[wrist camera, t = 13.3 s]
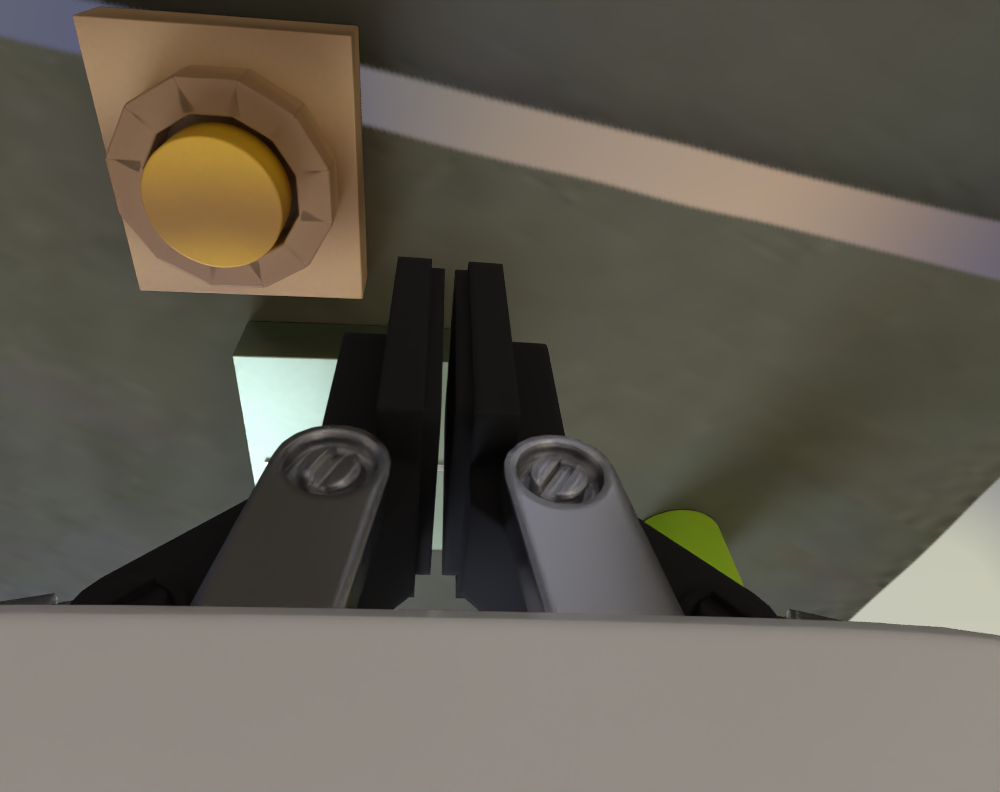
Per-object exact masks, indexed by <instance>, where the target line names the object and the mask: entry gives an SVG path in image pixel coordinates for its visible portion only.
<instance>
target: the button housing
mask: <svg viewBox="0 0 1000 792" xmlns="http://www.w3.org/2000/svg"><path fill="white" fill-rule="evenodd" d="M73 20H74V24H75V28H76V32H77V36H78V40H79V44H80V48H81V52H82V56H83V60H84V65H85V69H86V73H87V77H88V81H89V85H90V89H91V93H92V97H93V101H94V105H95V109H96V113H97V117H98V121H99V125H100V129H101V134H102V138H103V142H104V146H105V150H106V163H107V167H108V171H109V175H110V179H111V183H112V187H113V191H114V195H115V199H116V203H117V207H118V211H119V213H120V215H121V216H122V219H123V223H124V227H125V231H126V235H127V239H128V243H129V247H130V251H131V255H132V259H133V263H134V267H135V271H136V276H137V280H138V284H139V288H140V290H149V291H174V292H200V293H225V294H251V295H276V296H302V297H327V298H353V299H362V298H363V294H364V289H365V285H366V280H367V251H366V224H365V197H364V170H363V142H362V116H361V91H360V90H361V88H360V61H359V34H358V26H353V25H339V24H326V23H313V22H299V21H286V20H273V19H260V18H246V17H233V16H220V15H206V14H193V13H180V12H166V11H153V10H140V9H127V8H113V7H97V8H94V9H91V10H87V11H84V12H81V13H78V14H75V15H73ZM201 122H221V123H227V124H230V125H234V126H237V127H239V128H242V129H244V130H246V131H248V132H250V133H252V134H253V135H255V136H256V137H258V138H259V139H260V140H261V141H263V142H264V143H265V144H266V145H267V146H268V147H269V148H270V149H271V150H272V151H273V152H274V153H275V155H276V156H277V157H278V159H279V160H280V162H281V164H282V165H283V167H284V169H285V171H286V174H287V176H288V179H289V182H290V187H291V197H292V201H291V209H290V213H289V216H288V219H287V221H286V223H285V225H284V227H283V229H282V231H281V233H280V235H279V237H278V239H277V241H276V243H275V244H274V246H273V247H272V248H271V249H270V250H269V252H268V253H266V254H265V255H264V256H263V257H261V258H260V259H258V260H256V261H254V262H252V263H250V264H247V265H243V266H239V267H231V268H222V267H213V266H208V265H204V264H201V263H198V262H196V261H193V260H191V259H189V258H187V257H185V256H183V255H182V254H180V253H179V252H177V251H176V250H174V249H173V248H172V247H171V246H170V245H168V244H167V243H166V242H165V241H164V240H163V239H162V238H161V237H160V236H159V234H158V233H157V232H156V230H155V229H154V228H153V226H152V224H151V223H150V221H149V219H148V217H147V215H146V212H145V210H144V206H143V203H142V198H141V177H142V173H143V170H144V167H145V165H146V163H147V161H148V159H149V158H150V157H151V155H152V154H153V153H154V152H155V151H156V150H157V149H158V148H159V147H160V146H161V145H162V144H163V143H165V142H166V141H167V140H168V139H169V138H170V137H171V136H173V135H174V134H175V133H176V132H178V131H179V130H181V129H183V128H185V127H187V126H189V125H192V124H196V123H201Z"/></svg>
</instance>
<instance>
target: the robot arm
mask: <svg viewBox="0 0 1000 792" xmlns="http://www.w3.org/2000/svg"><path fill="white" fill-rule="evenodd" d="M444 281H445V269H440V268H432V259H426V258H412V257H398V262H397V269H396V275H395V282H394V289H393V296H392V303H391V310H390V317H389V324H388V331H387V334H374V333H358V332H345V333H344V336H343V339H342V343H341V348H340V352H339V356H338V360H337V364H336V369H335V373H334V377H333V381H332V385H331V390H330V394H329V398H328V402H327V406H326V411H325V415H324V419H323V423H322V426H318V427H312V428H309V429H306V430H303V431H301V432H298V433H295V434H294V435H292V436H291V437H289V438H288V439H286V440H285V441H283V442H282V443H281V444H280V446H279V447H278V448H277V449H276V451H275V452H274V453H273V455H272V456H271V458H270V460H269V462H268V464H267V465H266V467H265V469H264V471H263V473H262V475H261V476H260V478H259V480H258V482H257V484H256V486H255V487H254V489H253V491H252V493H251V495H250V497H249V498H248V499H247V500H245V501H243V502H242V503H240V504H238V505H236V506H234V507H232V508H230V509H229V510H227V511H225V512H223V513H221V514H219V515H217V516H216V517H214V518H212V519H210V520H208V521H206V522H204V523H203V524H201V525H199V526H197V527H195V528H193V529H191V530H189V531H188V532H186V533H184V534H182V535H180V536H178V537H176V538H175V539H173V540H171V541H169V542H167V543H165V544H163V545H162V546H160V547H158V548H156V549H154V550H152V551H150V552H149V553H147V554H145V555H143V556H141V557H139V558H137V559H136V560H134V561H132V562H130V563H128V564H126V565H124V566H123V567H121V568H119V569H117V570H115V571H113V572H111V573H110V574H108V575H106V576H104V577H102V578H101V579H99V580H98V581H96V582H95V583H93V584H92V585H90V586H89V587H87V588H86V589H84V590H83V591H81V593H80V594H79V595H78V596H77V597H76V598H75V599H74V600H73V601H66V602H60V603H59V602H58V600H57V598H56V595H55V593H53V594H47V595H40V596H34V597H27V598H21V599H14V600H8V601H1V602H0V792H1000V636H999V635H993V634H985V633H978V632H971V631H964V630H957V629H951V628H944V627H931V626H914V625H898V624H886V623H871V622H852V621H842V620H837V619H833V618H828V617H824V616H819V615H814V614H810V613H805V612H801V611H796V610H792V609H789V611H788V613H787V614H786V616H785V617H781V616H777V615H776V614H775V613H774V611H773V610H772V609H771V607H770V606H769V605H767V604H766V603H765V602H764V601H762V600H761V599H760V598H759V597H758V596H756V595H755V594H754V593H752V592H751V591H749V590H748V589H746V588H745V587H743V586H742V585H740V584H739V583H737V582H736V581H734V580H733V579H731V578H729V577H728V576H726V575H725V574H723V573H722V572H720V571H719V570H717V569H716V568H714V567H713V566H711V565H710V564H708V563H707V562H705V561H703V560H702V559H700V558H699V557H697V556H696V555H694V554H693V553H691V552H690V551H688V550H687V549H685V548H684V547H682V546H680V545H679V544H677V543H676V542H674V541H673V540H671V539H670V538H668V537H667V536H665V535H664V534H662V533H661V532H659V531H658V530H656V529H654V528H653V527H651V526H650V525H648V524H647V523H645V522H644V521H642V520H641V519H639V518H638V517H637V515H636V513H635V511H634V509H633V507H632V505H631V503H630V501H629V499H628V496H627V494H626V492H625V490H624V488H623V486H622V484H621V482H620V480H619V478H618V476H617V473H616V471H615V469H614V468H613V466H612V465H611V463H610V462H609V460H608V459H607V458H606V456H604V455H603V454H602V453H601V452H599V451H598V450H597V449H596V448H594V447H593V446H591V445H589V444H586V443H584V442H582V441H580V440H578V439H574V438H570V437H566V436H565V434H564V429H563V424H562V419H561V413H560V408H559V403H558V398H557V393H556V388H555V383H554V378H553V373H552V368H551V363H550V358H549V352H548V348H547V345H545V344H538V343H522V342H512V337H511V329H510V321H509V313H508V305H507V297H506V289H505V281H504V272H503V265H502V264H494V263H481V262H469V264H468V270H455V278H454V292H453V305H452V319H451V332H450V346H449V359H448V373H447V387H446V400H445V419H444V474H443V532H442V575H456V598H465V599H466V600H467V601H469V602H470V603H471V604H472V605H473V606H475V607H476V608H477V609H478V610H479V611H447V610H395V609H394V608H395V607H397V606H398V605H399V604H401V603H402V602H403V601H405V600H406V599H407V598H409V597H414V586H415V574H418V575H430V569H431V555H432V541H433V527H434V513H435V498H436V484H437V470H438V456H439V442H440V427H441V407H442V369H443V325H444Z"/></svg>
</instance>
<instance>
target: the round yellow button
mask: <svg viewBox="0 0 1000 792" xmlns="http://www.w3.org/2000/svg"><path fill="white" fill-rule="evenodd" d="M141 198H142V203H143V206H144V210H145V212H146V215H147V217H148V219H149V221H150V223H151V224H152V226H153V228H154V229H155V230H156V232H157V233H158V234H159V236H160V237H161V238H162V239H163V240H164V241H165V242H166V243H167V244H168V245H170V246H171V247H172V248H173V249H174V250H176V251H177V252H179V253H180V254H182V255H183V256H185V257H187V258H189V259H191V260H193V261H196V262H198V263H201V264H204V265H208V266H213V267H222V268H231V267H239V266H243V265H247V264H250V263H252V262H254V261H256V260H258V259H260V258H261V257H263V256H264V255H265V254H266V253H268V252H269V250H270V249H271V248H272V247H273V246H274V244H275V243H276V241H277V239H278V237H279V235H280V233H281V231H282V229H283V227H284V225H285V223H286V221H287V219H288V216H289V213H290V209H291V201H292V197H291V187H290V182H289V179H288V176H287V174H286V171H285V169H284V167H283V165H282V164H281V162H280V160H279V159H278V157H277V156H276V155H275V153H274V152H273V151H272V150H271V149H270V148H269V147H268V146H267V145H266V144H265V143H264V142H263V141H261V140H260V139H259V138H258V137H256V136H255V135H253V134H252V133H250V132H248V131H246V130H244V129H242V128H239V127H237V126H234V125H230V124H227V123H221V122H201V123H196V124H192V125H189V126H187V127H185V128H183V129H181V130H179V131H178V132H176V133H175V134H174V135H173V136H171V137H170V138H169V139H168V140H167V141H166V142H165V143H163V144H162V145H161V146H160V147H159V148H158V149H157V150H156V151H155V152H154V153H153V154H152V155H151V157H150V158H149V159H148V161H147V163H146V165H145V167H144V170H143V173H142V177H141Z"/></svg>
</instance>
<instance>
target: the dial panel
mask: <svg viewBox="0 0 1000 792" xmlns="http://www.w3.org/2000/svg"><path fill="white" fill-rule="evenodd" d="M387 331H388V326H368V325H340V324H312V323H284V322H256V321H249V322H248V324H247V326H246V328H245V330H244V332H243V334H242V336H241V339H240V341H239V343H238V345H237V347H236V349H235V351H234V354H233V362H234V368H235V374H236V380H237V385H238V391H239V397H240V403H241V409H242V414H243V420H244V426H245V432H246V438H247V444H248V449H249V455H250V461H251V467H252V473H253V478H254V484H255V486H256V484H257V482H258V480H259V478H260V476H261V475H262V473H263V471H264V469H265V467H266V465H267V464H268V462H269V460H270V458H271V456H272V455H273V453H274V452H275V451H276V449H277V448H278V447H279V446H280V444H281V443H282V442H283V441H285V440H286V439H288V438H289V437H291V436H292V435H294V434H295V433H298V432H301V431H303V430H306V429H309V428H312V427H318V426H322V423H323V419H324V415H325V411H326V406H327V402H328V398H329V394H330V390H331V385H332V381H333V377H334V373H335V369H336V364H337V360H338V356H339V352H340V348H341V343H342V339H343V336H344V333H345V332H358V333H374V334H387ZM450 332H451V328H443V369H442V407H441V427H440V442H439V456H438V470H437V484H436V498H435V513H434V527H433V541H432V550H442V532H443V474H444V419H445V400H446V387H447V373H448V359H449V346H450Z"/></svg>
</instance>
